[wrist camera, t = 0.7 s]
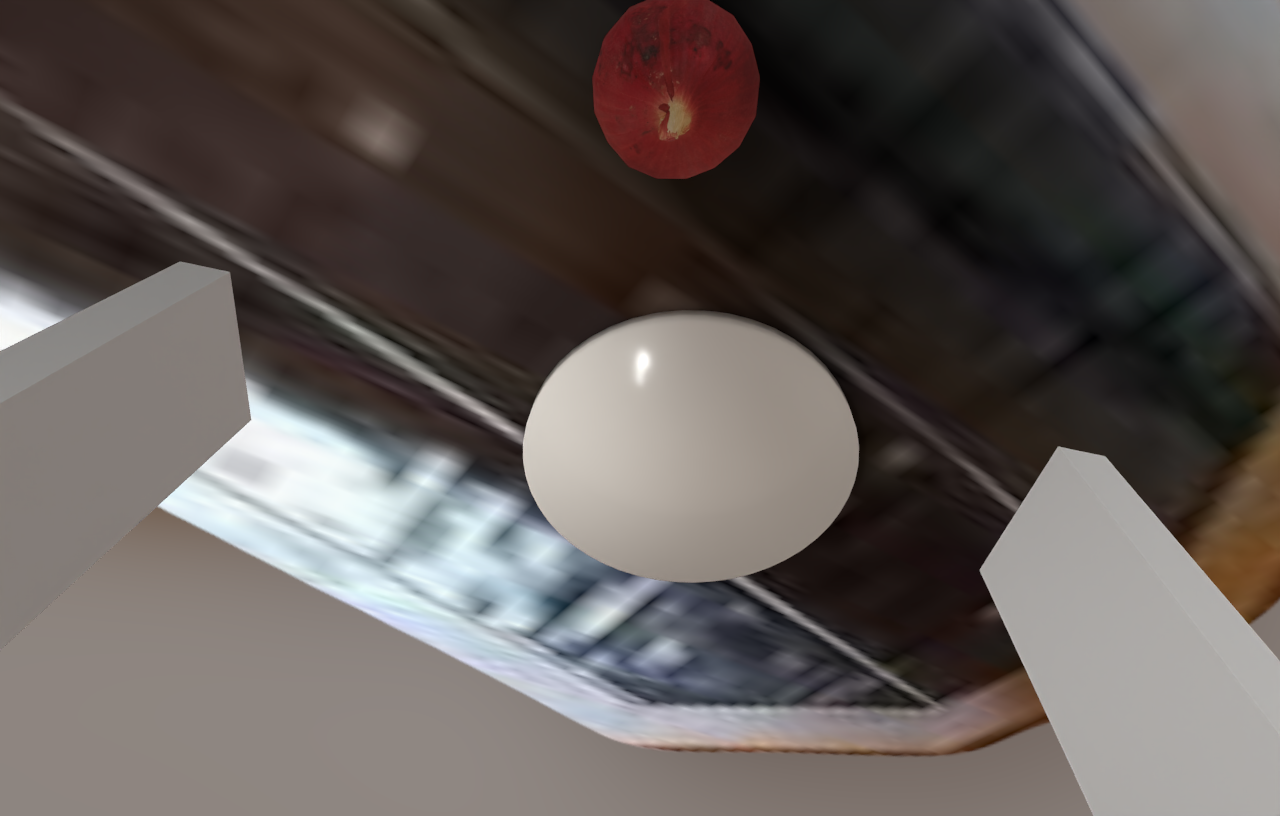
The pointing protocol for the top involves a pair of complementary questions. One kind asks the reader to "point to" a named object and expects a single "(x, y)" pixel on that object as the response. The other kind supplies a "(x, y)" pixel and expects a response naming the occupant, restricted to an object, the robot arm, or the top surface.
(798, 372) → the plate
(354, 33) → the top surface
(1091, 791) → the robot arm
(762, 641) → the top surface
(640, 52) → the onion
